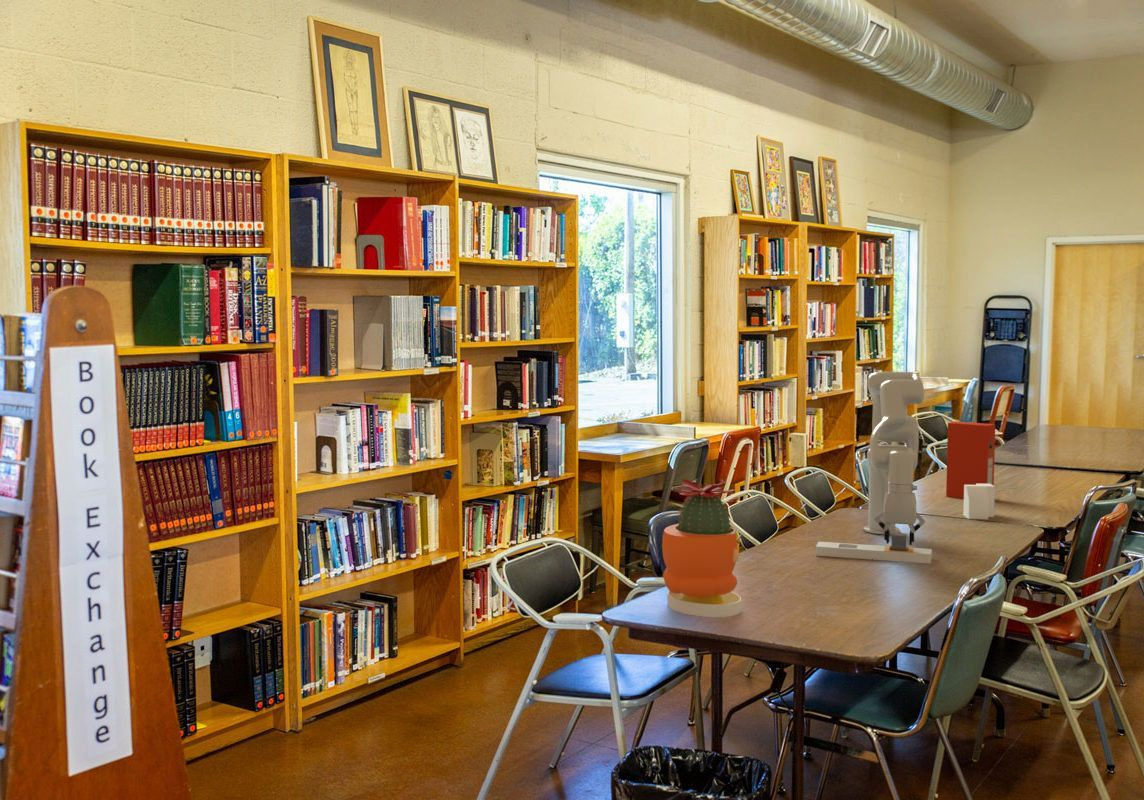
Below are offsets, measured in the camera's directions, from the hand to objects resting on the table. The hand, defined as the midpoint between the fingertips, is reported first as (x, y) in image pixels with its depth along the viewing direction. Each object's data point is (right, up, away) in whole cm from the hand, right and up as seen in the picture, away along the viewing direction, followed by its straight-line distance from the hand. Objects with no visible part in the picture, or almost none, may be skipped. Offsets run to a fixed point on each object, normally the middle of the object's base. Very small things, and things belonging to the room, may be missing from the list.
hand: (899, 542), depth 352 cm
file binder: (+64, +4, +112) cm, 129 cm away
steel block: (0, -5, +1) cm, 5 cm away
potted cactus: (-71, -10, -58) cm, 93 cm away
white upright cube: (+53, +1, +72) cm, 89 cm away
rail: (-8, -5, +3) cm, 10 cm away
